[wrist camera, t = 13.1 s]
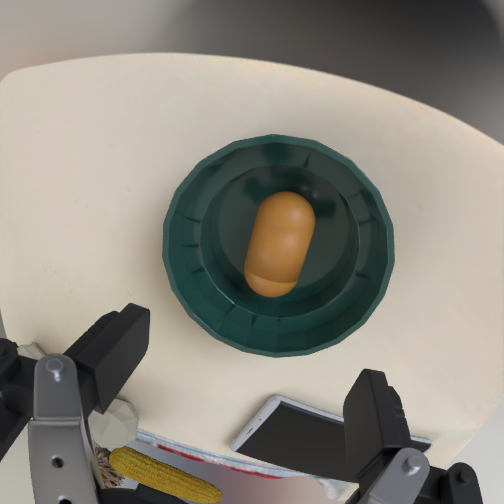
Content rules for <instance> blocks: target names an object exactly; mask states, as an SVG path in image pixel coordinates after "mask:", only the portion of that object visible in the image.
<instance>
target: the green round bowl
mask: <svg viewBox="0 0 504 504" xmlns="http://www.w3.org/2000/svg"><path fill="white" fill-rule="evenodd" d="M282 191H289V192H294V193H297V194H299V195H301V196H302V197H304V198H305V199H306V200H307V201H308V202H309V204H310V205H311V207H312V209H313V211H314V215H315V227H314V232H313V235H312V238H311V242H310V245H309V248H308V251H307V255H306V258H305V261H304V264H303V267H302V270H301V273H300V277H299V279H298V281H297V284H296V285H295V286H294V288H293V289H292V290H291V291H289V292H288V293H286V294H284V295H283V296H279V297H265V296H262V295H260V294H258V293H256V292H255V291H254V290H253V289H252V288H251V287H250V286H249V284H248V283H247V281H246V278H245V274H244V265H245V260H246V256H247V251H248V247H249V243H250V239H251V235H252V231H253V227H254V223H255V219H256V214H257V212H258V209H259V207H260V205H261V203H262V202H263V201H264V200H265V199H266V198H267V197H269V196H270V195H272V194H274V193H277V192H282ZM162 257H163V262H164V265H165V269H166V272H167V276H168V279H169V282H170V286H171V289H172V291H173V292H174V294H175V295H176V297H177V298H178V300H179V301H180V303H181V304H182V306H183V308H184V309H185V311H186V312H187V314H188V315H189V316H190V317H191V318H192V319H193V320H194V321H195V322H196V323H197V324H199V325H200V326H201V327H202V328H203V329H204V330H205V331H207V332H208V333H209V334H210V335H211V336H212V337H214V338H215V339H217V340H219V341H222V342H224V343H226V344H228V345H230V346H232V347H234V348H236V349H238V350H240V351H244V352H247V353H252V354H257V355H263V356H268V357H274V358H279V357H291V356H303V355H309V354H312V353H315V352H317V351H320V350H323V349H326V348H328V347H331V346H333V345H336V344H338V343H340V342H341V341H343V340H344V339H345V338H347V337H348V336H349V335H351V334H352V333H353V332H355V331H356V330H357V329H358V328H360V327H361V326H362V325H364V324H365V323H366V321H367V320H368V319H369V317H370V316H371V314H372V313H373V312H374V310H375V309H376V307H377V306H378V305H379V303H380V302H381V300H382V299H383V297H384V296H385V293H386V290H387V287H388V283H389V280H390V277H391V273H392V270H393V267H394V262H395V254H394V230H393V224H392V221H391V219H390V216H389V214H388V211H387V209H386V206H385V204H384V201H383V199H382V197H381V194H380V192H379V191H378V189H377V188H376V186H375V185H374V184H373V183H372V182H371V181H370V180H369V178H368V177H367V176H366V175H365V174H364V173H363V172H362V171H361V170H360V169H359V167H358V166H357V165H356V164H355V163H354V162H353V161H351V159H349V158H347V157H345V156H343V155H342V154H340V153H338V152H336V151H334V150H332V149H331V148H329V147H327V146H325V145H323V144H321V143H319V142H317V141H315V140H310V139H304V138H298V137H291V136H284V135H277V134H271V135H265V136H260V137H254V138H249V139H244V140H239V141H234V142H232V143H230V144H228V145H227V146H225V147H223V148H221V149H220V150H218V151H216V152H215V153H213V154H211V155H210V156H208V157H206V158H205V159H203V160H201V161H200V162H199V163H198V164H197V165H196V166H195V167H194V169H193V170H192V171H191V172H190V173H189V175H188V176H187V177H186V178H185V179H184V181H183V182H182V183H181V184H180V185H179V187H178V188H177V189H176V191H175V193H174V196H173V198H172V201H171V204H170V206H169V209H168V212H167V214H166V217H165V220H164V224H163V250H162Z"/></svg>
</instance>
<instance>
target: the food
mask: <svg viewBox="0 0 504 504" xmlns="http://www.w3.org/2000/svg"><path fill="white" fill-rule="evenodd" d="M109 458H110V459H109V461H108V463H109V464H110V465H111V466H112V467H113V469H115V470H116V471H118V472H119V473H120V474H122V475H124V476H126V477H129V478H131V479H134V480H136V481H138V482H141V483H143V484H145V485H148V486H150V487H152V488H155V489H157V490H160V491H162V492H165V493H169V494H172V495H175V496H176V497H180V498H184V499H185V500H190V501H195V502H199V503H205V504H206V503H214V502H215V503H217V502H219V501H220V500H221V498H222V494H221V491H220V490H219V489H217V488H216V487H215V486H214V485H212V484H210V483H208V482H206V481H204V480H202V479H199V478H196V477H195V476H192V475H190V474H187V473H185V472H184V471H181V470H179V469H178V468H175V467H172V466H170V465H168V464H164V463H162V462H159V461H156V459H153V458H151V457H149V456H147V455H144V454H142V453H140V452H138V451H136V450H134V449H132V448H129V447H126V446H123V447H121V448H115V449H114V450H113V451H112V453H111V454H110V456H109Z"/></svg>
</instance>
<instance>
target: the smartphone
mask: <svg viewBox="0 0 504 504" xmlns="http://www.w3.org/2000/svg"><path fill="white" fill-rule="evenodd" d="M411 440H412V444H413V448H414V449H417V450H419V451H420V452H422V453H423V454H425V453H426V452H428V451H429V450H430V449H431V448H432V447H433V444H432V441H431V440H427V439H422V438H417V437H413V436H411ZM230 448H231V450H233V451H235V452H238V453H240V454H243V455H246V456H249V457H252V458H255V459H258V460H261V461H264V462H267V463H271V464H274V465H277V466H281V467H284V468H288V469H292V470H296V471H300V472H304V473H308V474H312V475H316V476H321V477H325V478H330V479H335V480H341V481H346V482H350V481H348V479H347V459H346V443H345V430H344V418H342V417H339V416H336V415H333V414H330V413H327V412H324V411H321V410H318V409H315V408H312V407H309V406H307V405H304V404H301V403H298V402H296V401H293V400H290V399H288V398H285V397H282V396H280V395H274V396H271V397H270V398H269V399H268V401H267V402H266V403H265V404H264V405H263V407H262V408H261V409H260V410H259V411H258V413H257V414H256V415H255V416H254V417H253V418H252V420H251V421H250V422H249V423H248V424H247V425H246V426H245V428H244V429H243V430H242V431H241V432H240V433H239V434H238V435H237V436H236V438H235V439H234V440H233V441H232V442H231V445H230ZM352 483H359V482H352Z"/></svg>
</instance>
